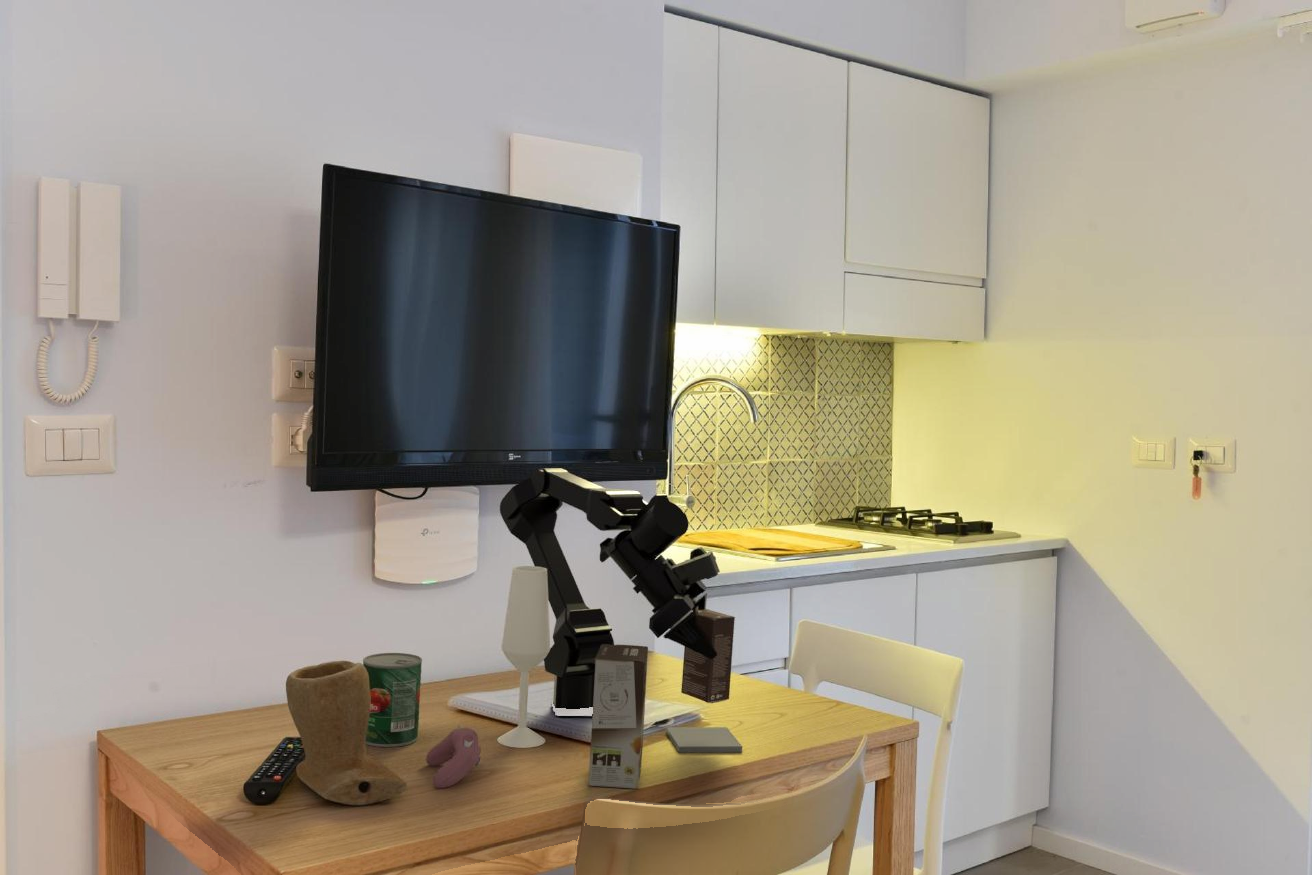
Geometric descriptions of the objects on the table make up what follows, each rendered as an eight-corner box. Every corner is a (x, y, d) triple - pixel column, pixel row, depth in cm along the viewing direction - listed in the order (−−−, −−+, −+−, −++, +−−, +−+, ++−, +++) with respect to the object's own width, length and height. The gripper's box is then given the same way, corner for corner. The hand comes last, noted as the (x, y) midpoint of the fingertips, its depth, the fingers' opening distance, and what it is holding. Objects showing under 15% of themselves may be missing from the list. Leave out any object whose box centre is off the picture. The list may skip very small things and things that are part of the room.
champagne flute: (505, 749, 154) (514, 573, 153) (490, 734, 160) (499, 565, 159) (552, 745, 157) (561, 572, 156) (536, 731, 163) (544, 564, 162)
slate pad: (678, 752, 157) (679, 746, 156) (666, 732, 165) (666, 727, 165) (742, 751, 158) (742, 746, 158) (726, 732, 167) (726, 727, 167)
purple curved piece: (463, 801, 138) (491, 749, 139) (430, 786, 137) (458, 734, 137) (453, 774, 147) (480, 725, 148) (422, 760, 146) (449, 711, 147)
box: (731, 699, 161) (736, 616, 160) (707, 704, 158) (712, 619, 157) (702, 689, 166) (707, 607, 165) (679, 693, 163) (684, 610, 162)
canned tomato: (347, 741, 154) (350, 660, 153) (381, 726, 161) (385, 649, 160) (396, 750, 151) (400, 668, 150) (429, 735, 158) (433, 657, 158)
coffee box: (639, 789, 141) (645, 661, 140) (587, 786, 141) (594, 658, 140) (642, 765, 150) (648, 645, 149) (593, 762, 150) (600, 642, 150)
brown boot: (270, 777, 138) (275, 654, 138) (366, 764, 145) (371, 647, 144) (305, 819, 126) (311, 685, 125) (408, 803, 132) (415, 675, 132)
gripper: (678, 539, 152) (755, 628, 151) (696, 524, 171) (765, 603, 169) (617, 592, 154) (692, 681, 152) (641, 571, 172) (709, 650, 171)
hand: (717, 651), depth 161 cm, fingers closed on box, 7 cm apart
